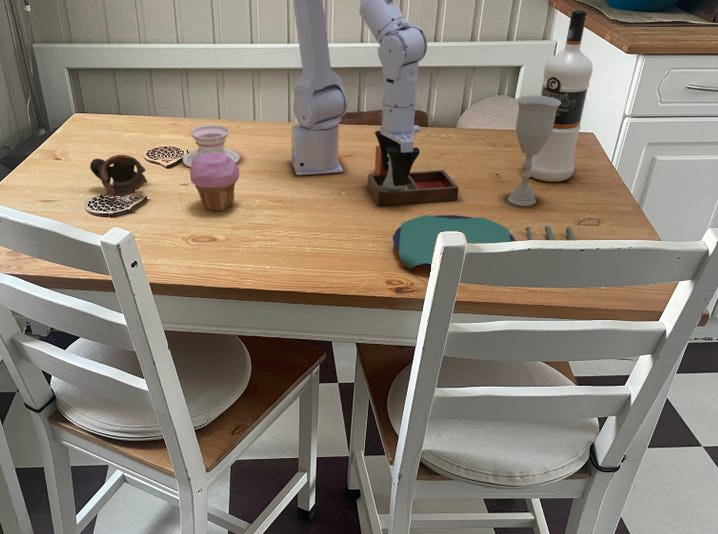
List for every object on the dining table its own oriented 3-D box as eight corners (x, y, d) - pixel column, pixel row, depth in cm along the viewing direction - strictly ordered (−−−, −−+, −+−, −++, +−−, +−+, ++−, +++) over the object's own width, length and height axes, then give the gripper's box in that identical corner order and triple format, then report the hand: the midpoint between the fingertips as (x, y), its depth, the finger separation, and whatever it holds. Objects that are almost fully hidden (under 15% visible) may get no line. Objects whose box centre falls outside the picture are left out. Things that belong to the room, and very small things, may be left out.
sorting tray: (378, 206, 133) (379, 193, 132) (367, 187, 140) (368, 175, 139) (457, 200, 135) (458, 187, 133) (442, 182, 142) (443, 169, 141)
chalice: (543, 195, 136) (562, 97, 126) (540, 209, 131) (560, 108, 120) (503, 190, 138) (519, 94, 128) (499, 204, 133) (514, 105, 122)
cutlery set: (394, 222, 127) (395, 210, 126) (571, 231, 124) (573, 218, 122) (389, 277, 112) (390, 263, 110) (591, 289, 108) (595, 275, 106)
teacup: (250, 162, 152) (248, 133, 148) (199, 175, 146) (196, 145, 143) (222, 146, 160) (220, 118, 156) (173, 158, 154) (169, 129, 151)
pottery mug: (159, 186, 143) (154, 158, 136) (136, 222, 139) (130, 196, 132) (104, 165, 144) (96, 137, 137) (80, 201, 141) (71, 173, 133)
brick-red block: (379, 180, 143) (381, 153, 140) (374, 172, 146) (375, 145, 143) (401, 179, 143) (403, 152, 140) (395, 171, 147) (397, 144, 144)
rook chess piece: (406, 196, 135) (409, 154, 130) (382, 196, 135) (384, 154, 130) (404, 187, 139) (407, 146, 134) (381, 187, 139) (383, 146, 134)
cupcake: (228, 219, 129) (224, 165, 123) (185, 213, 132) (178, 159, 126) (248, 200, 136) (245, 148, 130) (207, 194, 138) (202, 142, 133)
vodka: (582, 177, 143) (619, 11, 125) (547, 187, 139) (580, 17, 122) (548, 162, 150) (578, 3, 132) (514, 171, 146) (540, 8, 128)
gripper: (433, 114, 122) (426, 190, 130) (410, 90, 133) (405, 161, 141) (392, 116, 121) (387, 193, 129) (372, 92, 133) (369, 164, 141)
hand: (394, 177), depth 135 cm, fingers open, 7 cm apart
